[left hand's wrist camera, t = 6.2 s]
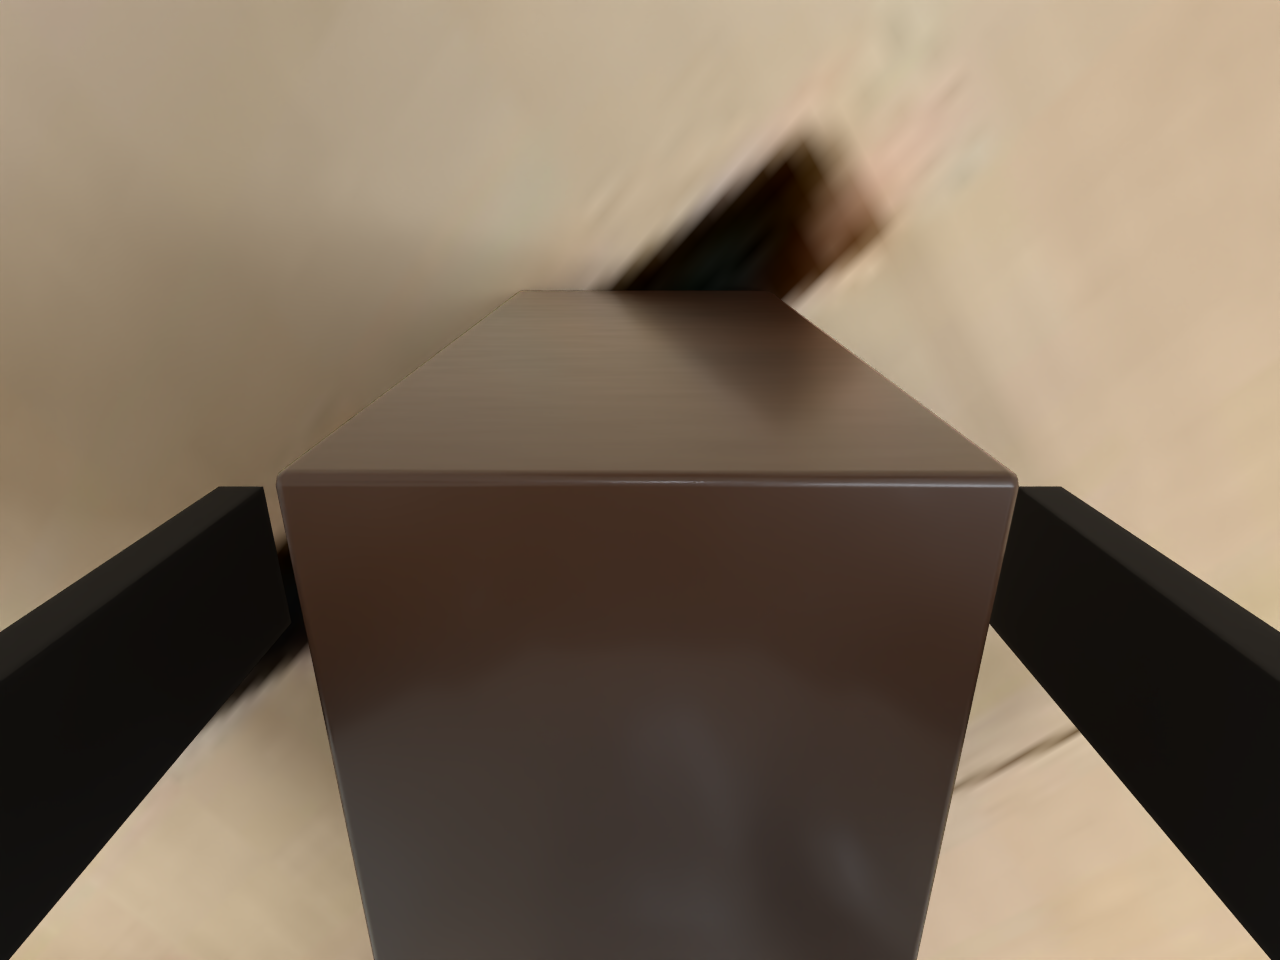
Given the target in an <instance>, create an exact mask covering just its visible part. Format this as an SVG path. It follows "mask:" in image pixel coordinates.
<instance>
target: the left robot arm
mask: <svg viewBox="0 0 1280 960" xmlns="http://www.w3.org/2000/svg"><path fill="white" fill-rule="evenodd" d="M290 624H291V619H290V614H289V609H288V604H287V599H286V595H285V590H284V585H283V580H282V575H281V571H280V566H279V561H278V556H277V551H276V547H275V542H274V537H273V532H272V527H271V522H270V518H269V513H268V508H267V503H266V498H265V494H264V489H263V487H218V488H216V489H215V490H213V491H212V492H210V493H209V494H207V495H206V496H204V497H203V498H201V499H200V500H198V501H197V502H195V503H194V504H192V505H191V506H189V507H188V508H186V509H185V510H183V511H182V512H180V513H179V514H177V515H176V516H174V517H173V518H171V519H170V520H168V521H167V522H165V523H164V524H162V525H161V526H159V527H158V528H156V529H155V530H153V531H152V532H150V533H149V534H147V535H146V536H144V537H143V538H141V539H140V540H138V541H136V542H135V543H133V544H132V545H130V546H129V547H127V548H126V549H124V550H123V551H121V552H120V553H118V554H117V555H115V556H114V557H112V558H111V559H109V560H108V561H106V562H105V563H103V564H102V565H100V566H99V567H97V568H96V569H94V570H93V571H91V572H90V573H88V574H87V575H85V576H84V577H82V578H81V579H79V580H78V581H76V582H75V583H73V584H72V585H70V586H69V587H67V588H66V589H64V590H63V591H61V592H60V593H58V594H57V595H55V596H54V597H52V598H51V599H49V600H48V601H46V602H45V603H43V604H42V605H40V606H39V607H37V608H36V609H34V610H33V611H31V612H30V613H28V614H27V615H25V616H24V617H22V618H21V619H19V620H18V621H16V622H15V623H13V624H12V625H10V626H9V627H7V628H6V629H4V630H3V631H1V632H0V960H9V959H10V958H11V957H12V955H13V954H14V953H15V952H16V951H17V949H18V948H19V947H20V946H21V945H22V943H23V942H24V941H25V940H26V939H27V938H28V936H29V935H30V934H31V933H32V932H33V930H34V929H35V928H36V927H37V926H38V924H39V923H40V922H41V921H42V920H43V918H44V917H45V916H46V915H47V914H48V912H49V911H50V910H51V909H52V908H53V907H54V905H55V904H56V903H57V902H58V901H59V899H60V898H61V897H62V896H63V895H64V893H65V892H66V891H67V890H68V889H69V887H70V886H71V885H72V884H73V883H74V881H75V880H76V879H77V878H78V877H79V875H80V874H81V873H82V872H83V871H84V870H85V868H86V867H87V866H88V865H89V864H90V862H91V861H92V860H93V859H94V858H95V856H96V855H97V854H98V853H99V852H100V850H101V849H102V848H103V847H104V846H105V844H106V843H107V842H108V841H109V840H110V838H111V837H112V836H113V835H114V834H115V833H116V831H117V830H118V829H119V828H120V827H121V825H122V824H123V823H124V822H125V821H126V819H127V818H128V817H129V816H130V815H131V813H132V812H133V811H134V810H135V809H136V807H137V806H138V805H139V804H140V803H141V801H142V800H143V799H144V798H145V797H146V796H147V794H148V793H149V792H150V791H151V790H152V788H153V787H154V786H155V785H156V784H157V782H158V781H159V780H160V779H161V778H162V776H163V775H164V774H165V773H166V772H167V770H168V769H169V768H170V767H171V766H172V764H173V763H174V762H175V761H176V760H177V759H178V757H179V756H180V755H181V754H182V753H183V751H184V750H185V749H186V748H187V747H188V745H189V744H190V743H191V742H192V741H193V739H194V738H195V737H196V736H197V735H198V733H199V732H200V731H201V730H202V729H203V728H204V726H205V725H206V724H207V723H208V722H209V720H210V719H211V718H212V717H213V716H214V714H215V713H216V712H217V711H218V710H219V708H220V707H221V706H222V705H223V704H224V702H225V701H226V700H227V699H228V698H229V696H230V695H231V694H232V693H233V692H234V691H235V689H236V688H237V687H238V686H239V685H240V683H241V682H242V681H243V680H244V679H245V677H246V676H247V675H248V674H249V673H250V671H251V670H252V669H253V668H254V667H255V665H256V664H257V663H258V662H259V661H260V659H261V658H262V657H263V656H264V655H265V654H266V652H267V651H268V650H269V649H270V648H271V646H272V645H273V644H274V643H275V642H276V640H277V639H278V638H279V637H280V636H281V634H282V633H283V632H284V631H285V630H286V628H287V627H288V626H289V625H290ZM989 624H990V625H991V626H992V627H993V628H994V630H995V631H996V632H997V633H998V634H999V636H1000V637H1001V638H1002V639H1003V640H1004V642H1005V643H1006V644H1007V645H1008V646H1009V648H1010V649H1011V650H1012V651H1013V652H1014V654H1015V655H1016V656H1017V657H1018V658H1019V659H1020V661H1021V662H1022V663H1023V664H1024V665H1025V667H1026V668H1027V669H1028V670H1029V671H1030V673H1031V674H1032V675H1033V676H1034V677H1035V679H1036V680H1037V681H1038V682H1039V683H1040V685H1041V686H1042V687H1043V688H1044V689H1045V691H1046V692H1047V693H1048V694H1049V695H1050V696H1051V698H1052V699H1053V700H1054V701H1055V702H1056V704H1057V705H1058V706H1059V707H1060V708H1061V710H1062V711H1063V712H1064V713H1065V714H1066V716H1067V717H1068V718H1069V719H1070V720H1071V722H1072V723H1073V724H1074V725H1075V726H1076V728H1077V729H1078V730H1079V731H1080V732H1081V733H1082V735H1083V736H1084V737H1085V738H1086V739H1087V741H1088V742H1089V743H1090V744H1091V745H1092V747H1093V748H1094V749H1095V750H1096V751H1097V753H1098V754H1099V755H1100V756H1101V757H1102V759H1103V760H1104V761H1105V762H1106V763H1107V765H1108V766H1109V767H1110V768H1111V769H1112V770H1113V772H1114V773H1115V774H1116V775H1117V776H1118V778H1119V779H1120V780H1121V781H1122V782H1123V784H1124V785H1125V786H1126V787H1127V788H1128V790H1129V791H1130V792H1131V793H1132V794H1133V796H1134V797H1135V798H1136V799H1137V800H1138V801H1139V803H1140V804H1141V805H1142V806H1143V807H1144V809H1145V810H1146V811H1147V812H1148V813H1149V815H1150V816H1151V817H1152V818H1153V819H1154V821H1155V822H1156V823H1157V824H1158V825H1159V827H1160V828H1161V829H1162V830H1163V831H1164V833H1165V834H1166V835H1167V836H1168V837H1169V838H1170V840H1171V841H1172V842H1173V843H1174V844H1175V846H1176V847H1177V848H1178V849H1179V850H1180V852H1181V853H1182V854H1183V855H1184V856H1185V858H1186V859H1187V860H1188V861H1189V862H1190V864H1191V865H1192V866H1193V867H1194V868H1195V870H1196V871H1197V872H1198V873H1199V874H1200V875H1201V877H1202V878H1203V879H1204V880H1205V881H1206V883H1207V884H1208V885H1209V886H1210V887H1211V889H1212V890H1213V891H1214V892H1215V893H1216V895H1217V896H1218V897H1219V898H1220V899H1221V901H1222V902H1223V903H1224V904H1225V905H1226V907H1227V908H1228V909H1229V910H1230V911H1231V912H1232V914H1233V915H1234V916H1235V917H1236V918H1237V920H1238V921H1239V922H1240V923H1241V924H1242V926H1243V927H1244V928H1245V929H1246V930H1247V932H1248V933H1249V934H1250V935H1251V936H1252V938H1253V939H1254V940H1255V941H1256V942H1257V943H1258V945H1259V946H1260V947H1261V948H1262V949H1263V951H1264V952H1265V953H1266V954H1267V955H1268V957H1269V958H1270V959H1271V960H1280V632H1279V631H1277V630H1276V629H1274V628H1273V627H1271V626H1270V625H1268V624H1267V623H1265V622H1264V621H1262V620H1261V619H1259V618H1258V617H1256V616H1255V615H1253V614H1252V613H1250V612H1249V611H1247V610H1246V609H1244V608H1243V607H1241V606H1240V605H1238V604H1237V603H1235V602H1234V601H1232V600H1231V599H1229V598H1228V597H1226V596H1225V595H1223V594H1222V593H1220V592H1219V591H1217V590H1216V589H1214V588H1213V587H1211V586H1210V585H1208V584H1207V583H1205V582H1204V581H1202V580H1201V579H1199V578H1198V577H1196V576H1195V575H1193V574H1192V573H1190V572H1189V571H1187V570H1186V569H1184V568H1183V567H1181V566H1180V565H1178V564H1177V563H1175V562H1174V561H1172V560H1171V559H1169V558H1168V557H1166V556H1165V555H1163V554H1162V553H1160V552H1159V551H1157V550H1156V549H1154V548H1153V547H1151V546H1150V545H1148V544H1147V543H1145V542H1144V541H1142V540H1140V539H1139V538H1137V537H1136V536H1134V535H1133V534H1131V533H1130V532H1128V531H1127V530H1125V529H1124V528H1122V527H1121V526H1119V525H1118V524H1116V523H1115V522H1113V521H1112V520H1110V519H1109V518H1107V517H1106V516H1104V515H1103V514H1101V513H1100V512H1098V511H1097V510H1095V509H1094V508H1092V507H1091V506H1089V505H1088V504H1086V503H1085V502H1083V501H1082V500H1080V499H1079V498H1077V497H1076V496H1074V495H1073V494H1071V493H1070V492H1068V491H1067V490H1065V489H1064V488H1062V487H1019V488H1018V493H1017V497H1016V502H1015V507H1014V511H1013V516H1012V520H1011V525H1010V530H1009V534H1008V539H1007V544H1006V548H1005V553H1004V557H1003V562H1002V567H1001V571H1000V576H999V581H998V585H997V590H996V595H995V599H994V604H993V608H992V613H991V618H990V622H989Z"/></svg>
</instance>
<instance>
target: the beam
mask: <svg viewBox="0 0 1280 960" xmlns="http://www.w3.org/2000/svg"><path fill="white" fill-rule="evenodd" d="M276 488H277V493H278V498H279V503H280V508H281V513H282V517H283V522H284V527H285V532H286V537H287V542H288V546H289V551H290V556H291V561H292V566H293V570H294V575H295V580H296V585H297V590H298V595H299V599H300V604H301V609H302V614H303V619H304V624H305V628H306V633H307V638H308V643H309V648H310V653H311V657H312V662H313V667H314V672H315V677H316V682H317V686H318V691H319V696H320V701H321V706H322V710H323V715H324V720H325V725H326V730H327V735H328V739H329V744H330V749H331V754H332V759H333V764H334V768H335V773H336V778H337V783H338V788H339V793H340V797H341V802H342V807H343V812H344V817H345V822H346V826H347V831H348V836H349V841H350V846H351V850H352V855H353V860H354V865H355V870H356V875H357V879H358V884H359V889H360V894H361V899H362V904H363V908H364V913H365V918H366V923H367V928H368V933H369V937H370V942H371V947H372V952H373V957H374V960H917V956H918V951H919V946H920V942H921V937H922V933H923V928H924V923H925V919H926V914H927V909H928V905H929V900H930V895H931V891H932V886H933V882H934V877H935V872H936V868H937V863H938V858H939V854H940V849H941V845H942V840H943V835H944V831H945V826H946V821H947V817H948V812H949V808H950V803H951V798H952V794H953V789H954V784H955V780H956V775H957V770H958V766H959V761H960V757H961V752H962V747H963V743H964V738H965V733H966V729H967V724H968V720H969V715H970V710H971V706H972V701H973V696H974V692H975V687H976V682H977V678H978V673H979V669H980V664H981V659H982V655H983V650H984V645H985V641H986V636H987V632H988V627H989V622H990V618H991V613H992V608H993V604H994V599H995V595H996V590H997V585H998V581H999V576H1000V571H1001V567H1002V562H1003V557H1004V553H1005V548H1006V544H1007V539H1008V534H1009V530H1010V525H1011V520H1012V516H1013V511H1014V507H1015V502H1016V497H1017V493H1018V488H1019V485H1018V478H1017V476H1016V474H1015V473H1013V472H1012V471H1011V470H1009V469H1008V468H1007V467H1005V466H1004V465H1003V464H1001V463H1000V462H999V461H997V460H996V459H995V458H993V457H992V456H991V455H989V454H988V453H987V452H985V451H984V450H983V449H981V448H980V447H978V446H977V445H976V444H974V443H973V442H972V441H970V440H969V439H968V438H966V437H965V436H964V435H962V434H961V433H960V432H958V431H957V430H956V429H954V428H953V427H952V426H950V425H949V424H948V423H946V422H945V421H943V420H942V419H941V418H939V417H938V416H937V415H935V414H934V413H933V412H931V411H930V410H929V409H927V408H926V407H925V406H923V405H922V404H921V403H919V402H918V401H917V400H915V399H914V398H912V397H911V396H910V395H908V394H907V393H906V392H904V391H903V390H902V389H900V388H899V387H898V386H896V385H895V384H894V383H892V382H891V381H890V380H888V379H887V378H886V377H884V376H883V375H882V374H880V373H879V372H877V371H876V370H875V369H873V368H872V367H871V366H869V365H868V364H867V363H865V362H864V361H863V360H861V359H860V358H859V357H857V356H856V355H855V354H853V353H852V352H851V351H849V350H848V349H847V348H845V347H844V346H842V345H841V344H840V343H838V342H837V341H836V340H834V339H833V338H832V337H830V336H829V335H828V334H826V333H825V332H824V331H822V330H821V329H820V328H818V327H817V326H816V325H814V324H813V323H812V322H810V321H809V320H807V319H806V318H805V317H803V316H802V315H801V314H799V313H798V312H797V311H795V310H794V309H793V308H791V307H790V306H789V305H787V304H786V303H785V302H783V301H782V300H781V299H779V298H778V297H776V296H775V295H774V294H772V293H771V292H769V291H520V292H518V293H517V294H515V295H514V296H513V297H511V298H510V299H509V300H507V301H506V302H505V303H503V304H502V305H501V306H499V307H498V308H497V309H495V310H494V311H493V312H492V313H490V314H489V315H488V316H486V317H485V318H484V319H482V320H481V321H480V322H478V323H477V324H476V325H474V326H473V327H472V328H470V329H469V330H468V331H466V332H465V333H464V334H462V335H461V336H460V337H458V338H457V339H456V340H454V341H453V342H452V343H450V344H449V345H448V346H446V347H445V348H444V349H442V350H441V351H440V352H438V353H437V354H436V355H434V356H433V357H432V358H430V359H429V360H428V361H426V362H425V363H424V364H423V365H421V366H420V367H419V368H417V369H416V370H415V371H413V372H412V373H411V374H409V375H408V376H407V377H405V378H404V379H403V380H401V381H400V382H399V383H397V384H396V385H395V386H393V387H392V388H391V389H389V390H388V391H387V392H385V393H384V394H383V395H381V396H380V397H379V398H377V399H376V400H375V401H373V402H372V403H371V404H369V405H368V406H367V407H365V408H364V409H363V410H361V411H360V412H359V413H358V414H356V415H355V416H354V417H352V418H351V419H350V420H348V421H347V422H346V423H344V424H343V425H342V426H340V427H339V428H338V429H336V430H335V431H334V432H332V433H331V434H330V435H328V436H327V437H326V438H324V439H323V440H322V441H320V442H319V443H318V444H316V445H315V446H314V447H312V448H311V449H310V450H308V451H307V452H306V453H304V454H303V455H302V456H300V457H299V458H298V459H296V460H295V461H294V462H292V463H291V464H290V465H289V466H287V467H286V468H285V469H283V470H282V471H281V472H279V473H278V476H277V481H276Z"/></svg>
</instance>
